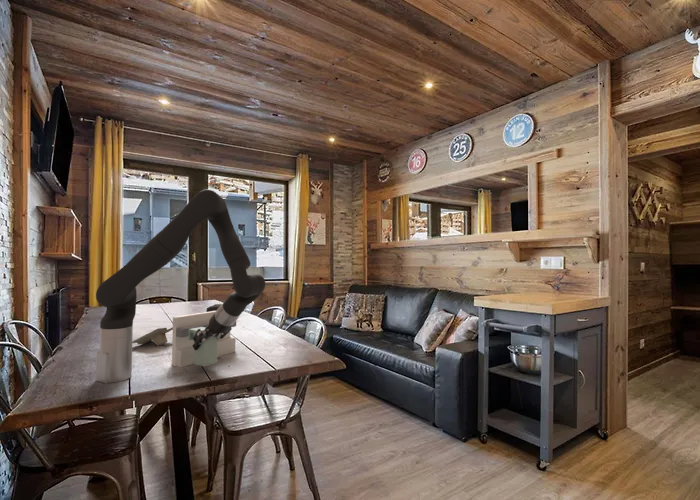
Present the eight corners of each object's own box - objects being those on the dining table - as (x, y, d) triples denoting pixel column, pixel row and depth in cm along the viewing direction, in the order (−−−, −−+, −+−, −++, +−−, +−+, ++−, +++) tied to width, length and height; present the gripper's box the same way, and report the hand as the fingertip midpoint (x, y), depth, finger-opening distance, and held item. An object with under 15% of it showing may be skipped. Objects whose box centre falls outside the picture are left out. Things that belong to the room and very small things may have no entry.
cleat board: (181, 367, 134) (182, 318, 135) (171, 365, 137) (172, 317, 137) (235, 351, 157) (236, 309, 157) (226, 350, 160) (227, 308, 160)
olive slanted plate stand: (136, 359, 157) (163, 337, 157) (125, 343, 159) (152, 321, 159) (159, 355, 173) (184, 335, 173) (150, 341, 175) (174, 320, 175)
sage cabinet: (203, 366, 128) (204, 332, 128) (187, 362, 133) (188, 329, 133) (216, 362, 133) (217, 329, 133) (200, 358, 137) (201, 326, 138)
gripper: (236, 306, 135) (213, 334, 141) (203, 311, 122) (179, 342, 128) (246, 322, 132) (222, 350, 138) (213, 328, 120) (188, 359, 125)
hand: (201, 346), depth 133 cm, fingers closed on sage cabinet, 5 cm apart
